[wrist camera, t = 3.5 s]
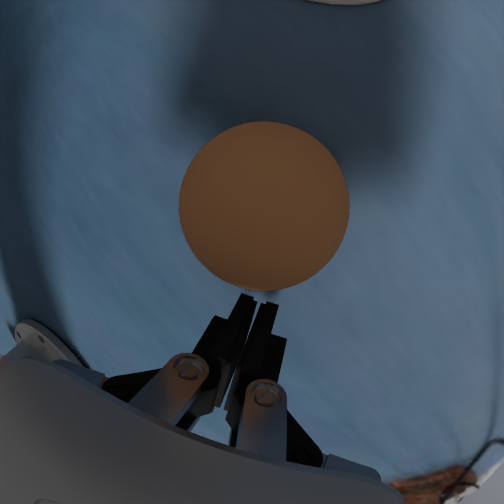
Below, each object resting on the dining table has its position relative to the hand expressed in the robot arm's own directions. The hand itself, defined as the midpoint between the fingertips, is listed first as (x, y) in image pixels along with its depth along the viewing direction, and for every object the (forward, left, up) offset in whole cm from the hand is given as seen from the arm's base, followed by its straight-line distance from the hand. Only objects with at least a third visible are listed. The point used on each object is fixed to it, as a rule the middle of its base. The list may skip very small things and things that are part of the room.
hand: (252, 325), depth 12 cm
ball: (+2, +5, +1) cm, 6 cm away
